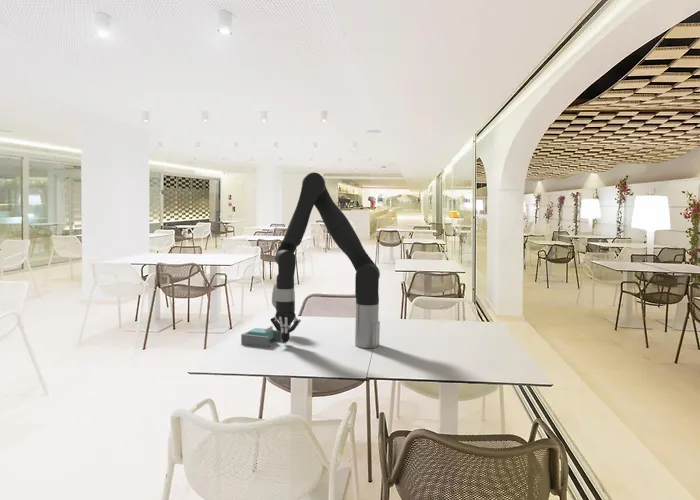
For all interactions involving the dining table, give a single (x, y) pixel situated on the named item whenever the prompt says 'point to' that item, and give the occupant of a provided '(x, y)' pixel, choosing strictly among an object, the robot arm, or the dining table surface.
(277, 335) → the bay
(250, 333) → the teal box with handle
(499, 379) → the dining table surface
